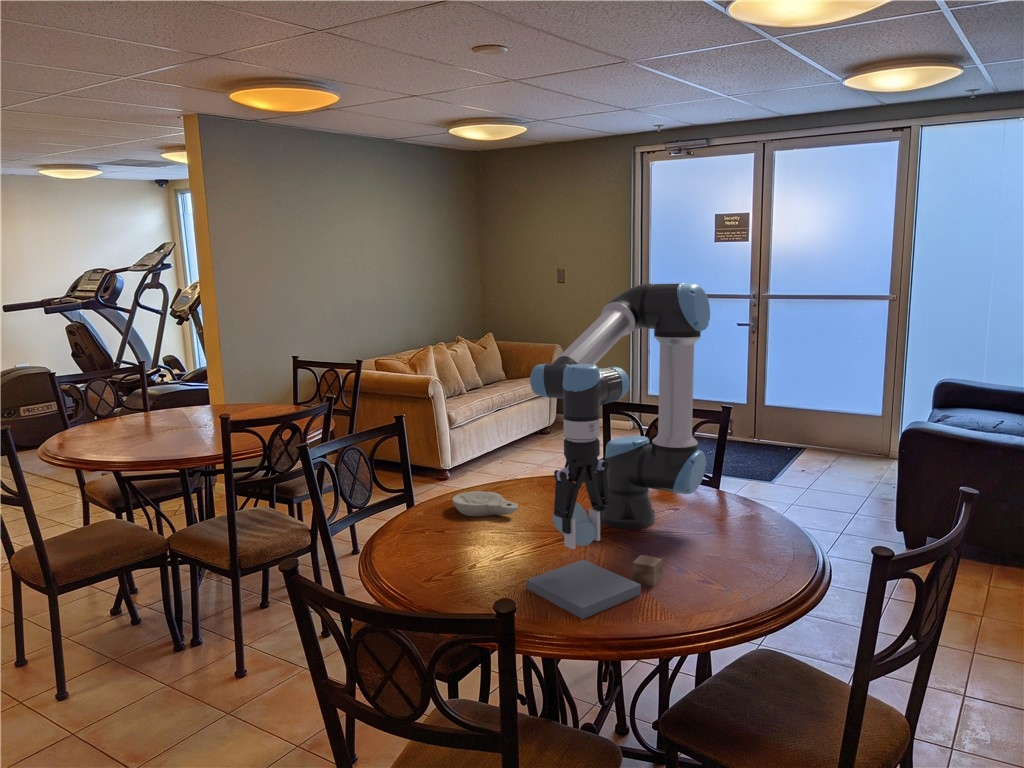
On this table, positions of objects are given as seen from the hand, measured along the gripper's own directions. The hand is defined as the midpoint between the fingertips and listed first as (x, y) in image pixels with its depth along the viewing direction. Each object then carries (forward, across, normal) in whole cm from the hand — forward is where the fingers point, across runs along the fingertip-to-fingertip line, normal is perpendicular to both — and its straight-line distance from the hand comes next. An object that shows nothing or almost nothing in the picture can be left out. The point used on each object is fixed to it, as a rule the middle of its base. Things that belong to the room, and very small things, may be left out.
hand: (582, 542), depth 158 cm
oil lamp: (+12, +14, +55) cm, 58 cm away
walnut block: (+12, +15, -5) cm, 20 cm away
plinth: (+11, 0, 0) cm, 11 cm away
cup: (+2, -1, +1) cm, 2 cm away
